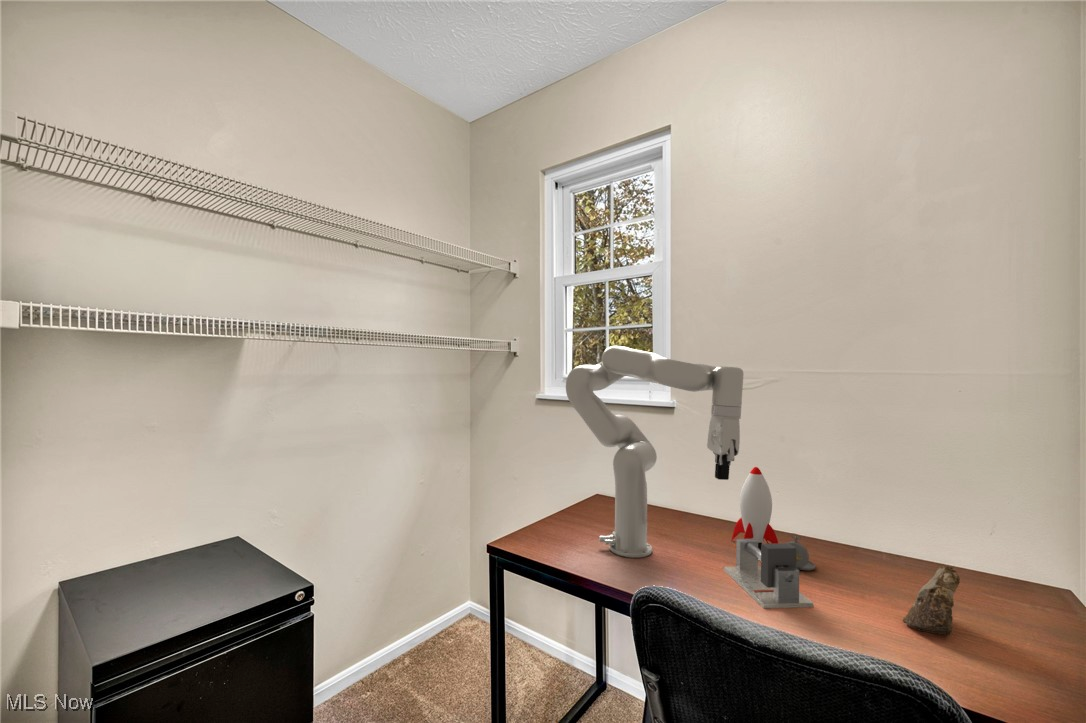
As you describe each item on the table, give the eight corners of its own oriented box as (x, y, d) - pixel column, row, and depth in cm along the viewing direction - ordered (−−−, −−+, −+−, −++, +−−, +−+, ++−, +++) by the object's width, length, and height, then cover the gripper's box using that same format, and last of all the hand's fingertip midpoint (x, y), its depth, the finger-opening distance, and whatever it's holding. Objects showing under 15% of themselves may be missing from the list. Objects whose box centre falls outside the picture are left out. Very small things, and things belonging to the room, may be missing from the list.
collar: (767, 587, 111) (767, 548, 111) (760, 581, 114) (761, 543, 114) (796, 587, 111) (796, 548, 111) (788, 581, 114) (788, 543, 114)
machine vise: (763, 608, 108) (764, 571, 108) (723, 570, 128) (724, 539, 128) (813, 607, 108) (813, 570, 109) (766, 569, 128) (766, 538, 128)
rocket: (767, 542, 148) (768, 463, 149) (781, 556, 138) (782, 471, 138) (731, 540, 150) (732, 462, 150) (742, 554, 139) (742, 470, 139)
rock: (899, 569, 112) (919, 548, 101) (940, 582, 109) (964, 562, 98) (894, 632, 105) (914, 617, 94) (937, 648, 102) (963, 635, 91)
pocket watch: (812, 563, 133) (812, 528, 133) (819, 576, 125) (819, 538, 125) (780, 559, 135) (780, 524, 136) (785, 571, 127) (785, 534, 128)
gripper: (701, 407, 134) (697, 471, 135) (724, 414, 119) (720, 486, 120) (726, 409, 135) (722, 472, 135) (753, 416, 120) (748, 487, 120)
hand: (721, 478), depth 128 cm, fingers closed
